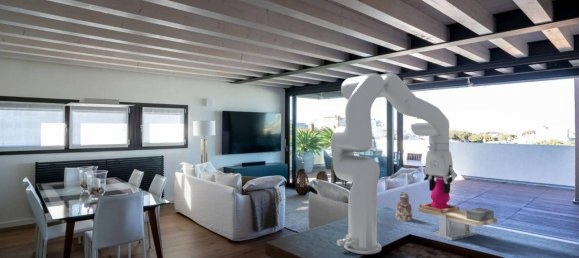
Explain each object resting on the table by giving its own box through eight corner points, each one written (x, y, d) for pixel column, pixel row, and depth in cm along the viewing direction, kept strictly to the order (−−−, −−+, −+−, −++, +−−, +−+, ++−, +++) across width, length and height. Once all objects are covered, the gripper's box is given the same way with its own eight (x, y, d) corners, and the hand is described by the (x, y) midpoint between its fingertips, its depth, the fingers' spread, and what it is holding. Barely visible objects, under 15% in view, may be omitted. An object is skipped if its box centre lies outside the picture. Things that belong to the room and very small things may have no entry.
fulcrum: (451, 240, 122) (451, 217, 122) (433, 234, 129) (433, 212, 129) (477, 234, 129) (477, 212, 129) (458, 229, 136) (458, 208, 136)
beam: (476, 226, 115) (476, 213, 115) (418, 211, 137) (418, 200, 137) (496, 222, 121) (496, 210, 121) (437, 208, 143) (437, 197, 143)
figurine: (396, 220, 149) (396, 193, 150) (395, 216, 156) (394, 191, 157) (413, 221, 148) (413, 194, 148) (411, 217, 155) (410, 191, 155)
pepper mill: (444, 205, 140) (449, 159, 139) (451, 210, 133) (456, 161, 132) (427, 204, 141) (431, 157, 140) (433, 209, 134) (437, 160, 133)
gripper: (415, 147, 142) (416, 189, 142) (452, 149, 126) (452, 196, 126) (427, 146, 145) (428, 187, 145) (464, 148, 130) (465, 194, 130)
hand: (439, 191), depth 136 cm, fingers open, 5 cm apart
